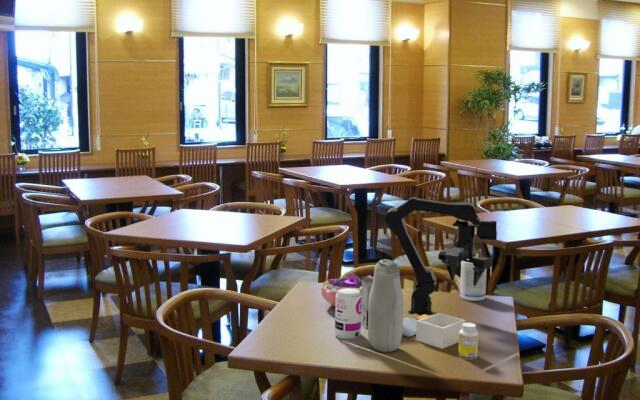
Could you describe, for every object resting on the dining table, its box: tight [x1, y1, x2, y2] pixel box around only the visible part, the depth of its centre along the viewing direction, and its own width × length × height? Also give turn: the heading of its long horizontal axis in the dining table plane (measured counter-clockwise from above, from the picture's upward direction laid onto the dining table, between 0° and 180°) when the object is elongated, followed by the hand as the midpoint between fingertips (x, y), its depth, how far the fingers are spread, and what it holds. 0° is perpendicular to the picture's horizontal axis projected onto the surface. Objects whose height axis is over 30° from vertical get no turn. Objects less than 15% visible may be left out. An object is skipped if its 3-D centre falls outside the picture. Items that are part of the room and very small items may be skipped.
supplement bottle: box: [457, 322, 479, 360], centre depth 213 cm, size 6×6×10 cm
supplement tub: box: [459, 259, 488, 302], centre depth 274 cm, size 10×10×15 cm
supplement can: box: [334, 288, 362, 340], centre depth 229 cm, size 8×8×15 cm
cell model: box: [321, 273, 362, 308], centre depth 261 cm, size 17×20×11 cm
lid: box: [402, 314, 430, 338], centre depth 237 cm, size 11×17×3 cm, turn 135°
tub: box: [415, 312, 467, 350], centre depth 226 cm, size 10×12×7 cm
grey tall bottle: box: [367, 258, 405, 353], centre depth 216 cm, size 10×10×28 cm
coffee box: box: [361, 276, 374, 330], centre depth 240 cm, size 9×6×16 cm
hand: (463, 283), depth 251 cm, fingers open, 9 cm apart
